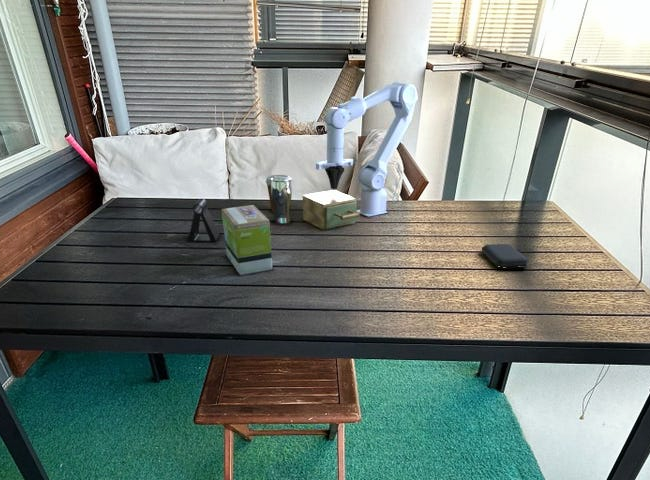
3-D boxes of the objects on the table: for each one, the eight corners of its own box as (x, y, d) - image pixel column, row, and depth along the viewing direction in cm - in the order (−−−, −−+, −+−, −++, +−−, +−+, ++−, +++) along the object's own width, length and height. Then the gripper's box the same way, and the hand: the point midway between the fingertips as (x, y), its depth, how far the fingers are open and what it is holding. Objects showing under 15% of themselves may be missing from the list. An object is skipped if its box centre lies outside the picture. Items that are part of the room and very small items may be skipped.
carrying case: (533, 270, 138) (511, 251, 150) (536, 260, 136) (514, 241, 149) (497, 271, 137) (478, 252, 150) (499, 261, 136) (480, 242, 148)
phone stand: (188, 241, 157) (182, 203, 150) (193, 235, 162) (187, 198, 155) (216, 241, 156) (211, 204, 150) (219, 235, 161) (215, 198, 155)
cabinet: (355, 223, 173) (356, 198, 168) (323, 229, 166) (323, 204, 162) (333, 213, 182) (334, 189, 177) (302, 219, 176) (302, 195, 171)
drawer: (365, 225, 167) (366, 206, 164) (335, 232, 162) (336, 211, 158) (335, 212, 180) (336, 194, 176) (307, 218, 174) (307, 199, 170)
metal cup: (264, 213, 182) (262, 180, 175) (270, 206, 190) (269, 174, 183) (289, 214, 180) (288, 181, 174) (294, 207, 188) (293, 175, 182)
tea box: (225, 257, 146) (220, 207, 137) (257, 252, 149) (254, 203, 141) (239, 276, 134) (234, 223, 126) (273, 270, 137) (270, 218, 129)
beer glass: (270, 220, 175) (267, 177, 166) (288, 218, 177) (286, 175, 169) (277, 226, 169) (275, 181, 161) (295, 223, 172) (294, 179, 164)
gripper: (324, 151, 158) (323, 193, 166) (359, 147, 165) (357, 188, 173) (312, 147, 163) (312, 189, 171) (346, 144, 170) (345, 184, 177)
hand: (333, 188), depth 172 cm, fingers closed
